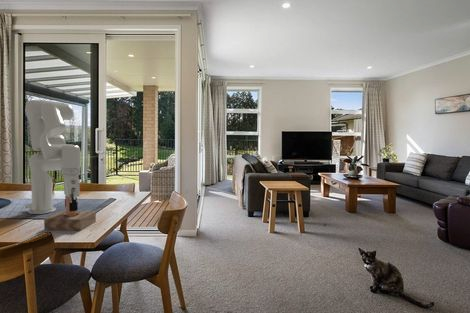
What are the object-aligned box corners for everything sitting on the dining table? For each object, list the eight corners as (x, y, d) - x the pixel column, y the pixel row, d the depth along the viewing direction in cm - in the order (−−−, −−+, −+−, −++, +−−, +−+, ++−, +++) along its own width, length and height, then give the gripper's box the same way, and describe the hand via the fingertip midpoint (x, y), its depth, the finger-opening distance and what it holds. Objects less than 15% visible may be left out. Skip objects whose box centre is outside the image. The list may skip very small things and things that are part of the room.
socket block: (44, 229, 128) (44, 218, 128) (62, 220, 142) (62, 210, 142) (80, 230, 128) (80, 219, 128) (95, 221, 142) (95, 211, 142)
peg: (64, 226, 133) (64, 196, 132) (69, 224, 137) (69, 194, 136) (73, 227, 133) (72, 196, 132) (77, 224, 137) (77, 195, 136)
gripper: (84, 173, 129) (84, 211, 130) (75, 169, 143) (75, 204, 144) (65, 174, 125) (65, 214, 126) (57, 170, 138) (58, 206, 139)
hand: (71, 208), depth 135 cm, fingers open, 9 cm apart
